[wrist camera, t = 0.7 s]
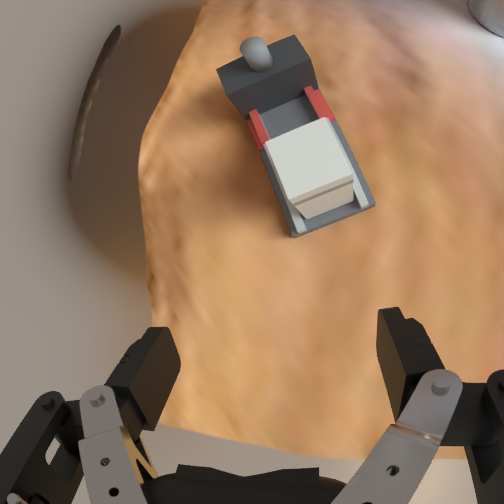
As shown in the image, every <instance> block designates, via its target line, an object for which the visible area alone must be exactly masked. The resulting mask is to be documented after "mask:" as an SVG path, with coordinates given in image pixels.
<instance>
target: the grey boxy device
mask: <svg viewBox="0 0 504 504" xmlns="http://www.w3.org/2000/svg"><path fill="white" fill-rule="evenodd" d="M240 51H241V53H242V54H243V57H240V58H238V59H236V60H234V61H232V62H230V63H228V64H226V65H224V66H222V67H220V68H218V69H216V70H217V73H218V75H219V78H220V80H221V82H222V85H223V87H224V90H225V92H226V95H227V96H228V98H229V99H230V100H231V101H232V103H233V104H234V105H235V106H236V108H237V109H238V110H239V111H240V113H241V114H242V115H243V116H244V118H245V119H246V121H247V123H248V125H249V128H250V130H251V133H252V135H253V138H254V140H255V143H256V145H257V147H258V150H259V152H260V154H261V157H262V159H263V162H264V164H265V167H266V169H267V172H268V174H269V177H270V179H271V182H272V185H273V187H274V190H275V192H276V195H277V197H278V200H279V203H280V205H281V208H282V210H283V213H284V216H285V218H286V221H287V224H288V226H289V229H290V232H291V234H292V237H294V238H297V237H299V236H302V235H304V234H307V233H309V232H312V231H314V230H317V229H319V228H322V227H325V226H327V225H330V224H332V223H335V222H337V221H340V220H342V219H345V218H347V217H350V216H352V215H355V214H357V213H360V212H362V211H365V210H367V209H370V208H372V207H375V204H376V203H375V201H374V199H373V196H372V194H371V192H370V189H369V187H368V185H367V183H366V180H365V178H364V176H363V174H362V172H361V170H360V167H359V165H358V163H357V161H356V159H355V157H354V155H353V153H352V151H351V149H350V147H349V145H348V143H347V141H346V139H345V137H344V135H343V133H342V131H341V129H340V127H339V125H338V123H337V121H336V119H335V117H334V115H333V113H332V111H331V110H330V108H329V106H328V104H327V102H326V100H325V99H324V97H323V95H322V93H321V92H320V90H319V87H318V84H317V80H316V76H315V72H314V69H313V65H312V62H311V59H310V57H309V56H308V54H307V52H306V51H305V49H304V48H303V46H302V45H301V43H300V42H299V40H298V39H297V37H296V36H295V35H292V36H289V37H287V38H284V39H282V40H279V41H277V42H274V43H272V44H270V45H267V46H266V44H265V42H264V40H263V39H262V38H260V37H251V38H248V39H246V40H245V41H243V42H242V44H241V45H240ZM323 117H325V118H326V120H327V122H328V124H329V126H330V128H331V130H332V132H333V134H334V136H335V138H336V140H337V142H338V144H339V146H340V148H341V150H342V152H343V154H344V156H345V158H346V161H347V163H348V165H349V167H350V169H351V171H352V173H353V179H354V183H353V201H352V202H349V203H347V204H344V205H342V206H339V207H337V208H334V209H332V210H329V211H327V212H324V213H322V214H319V215H317V216H314V217H312V218H309V219H306V218H305V217H304V216H303V215H302V214H301V213H300V212H299V210H298V209H297V208H296V207H295V206H293V205H292V204H291V202H290V201H289V200H288V197H287V195H286V192H285V190H284V187H283V185H282V182H281V180H280V177H279V175H278V172H277V170H276V167H275V165H274V162H273V160H272V157H271V155H270V153H269V150H268V148H267V145H266V143H265V142H266V141H269V140H271V139H273V138H275V137H278V136H280V135H282V134H285V133H287V132H289V131H292V130H294V129H296V128H299V127H301V126H303V125H306V124H308V123H311V122H313V121H316V120H318V119H321V118H323Z"/></svg>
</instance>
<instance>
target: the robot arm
mask: <svg viewBox="0 0 504 504" xmlns="http://www.w3.org/2000/svg"><path fill="white" fill-rule="evenodd" d="M468 7H469V10H470V12H471V14H472V15H473V16H474V18H475V19H476V20H477V21H478V22H479V23H480V24H482V25H483V26H484V27H485V28H487V29H488V30H490V31H491V32H493V33H495V34H497V35H499V36H501V37H504V0H469V2H468ZM376 349H377V357H378V361H379V364H380V368H381V371H382V375H383V378H384V382H385V385H386V389H387V393H388V396H389V400H390V404H391V408H392V411H393V415H394V419H395V424H391V425H390V426H389V427H388V428H387V429H386V431H385V432H384V434H383V435H382V437H381V438H380V440H379V441H378V443H377V444H376V446H375V447H374V448H373V450H372V451H371V453H370V454H369V456H368V457H367V458H366V460H365V461H364V462H363V464H362V465H361V467H360V468H359V469H358V471H357V472H356V473H355V475H354V476H353V477H352V478H351V480H350V481H349V482H348V483H347V484H346V483H344V482H341V481H338V480H336V479H331V478H327V477H321V476H319V467H317V468H302V469H282V470H278V471H273V472H268V473H263V474H258V475H253V476H247V477H243V476H238V475H234V474H231V473H227V472H223V471H220V470H217V469H214V468H210V467H199V466H190V465H181V464H179V465H178V467H177V470H176V473H173V474H167V475H163V476H160V477H159V476H158V474H157V472H156V470H155V468H154V465H153V463H152V461H151V458H150V456H149V454H148V451H147V449H146V447H145V444H144V441H143V439H142V437H141V436H140V433H141V431H142V430H149V431H154V430H155V427H156V425H157V423H158V420H159V418H160V416H161V413H162V411H163V409H164V406H165V404H166V402H167V399H168V397H169V395H170V392H171V390H172V388H173V385H174V383H175V381H176V379H177V376H178V374H179V372H180V367H181V362H180V357H179V354H178V351H177V348H176V346H175V343H174V340H173V337H172V334H171V332H170V330H169V328H168V327H149V328H148V329H147V330H146V332H145V334H144V335H143V336H142V338H141V339H138V340H137V341H136V342H135V343H133V344H132V345H131V346H130V347H129V348H128V350H127V351H126V353H125V354H124V357H122V359H121V360H120V363H119V364H118V365H117V366H116V368H115V369H114V371H113V372H112V374H111V375H110V377H109V378H108V380H107V382H106V383H105V384H104V385H101V386H96V387H93V388H91V389H89V390H87V391H86V392H85V393H84V394H83V395H82V397H81V399H80V400H74V401H65V399H64V398H63V396H62V395H61V394H60V393H59V392H56V391H51V392H47V393H45V394H43V395H41V396H40V397H39V398H38V399H37V400H36V401H35V403H34V404H33V406H32V407H31V409H30V410H29V412H28V413H27V415H26V416H25V417H24V419H23V420H22V422H21V423H20V425H19V426H18V428H17V430H16V431H15V433H14V434H13V436H12V437H11V439H10V440H9V442H8V443H7V445H6V446H5V448H4V450H3V451H2V453H1V454H0V504H71V503H72V501H73V499H74V496H75V494H76V492H77V489H78V487H79V485H80V482H81V480H82V478H83V476H85V481H86V486H87V490H88V494H89V498H90V502H91V504H408V503H409V501H410V499H411V498H412V496H413V495H414V493H415V491H416V489H417V488H418V486H419V484H420V482H421V480H422V479H423V477H424V475H425V473H426V471H427V470H428V468H429V466H430V464H431V462H432V460H433V458H434V456H435V454H436V452H437V450H438V448H439V446H464V449H465V452H466V456H467V460H468V463H469V467H470V471H471V475H472V480H473V484H474V488H475V493H476V498H477V502H478V504H504V370H498V371H495V372H494V373H492V374H491V375H490V376H489V378H488V380H487V383H465V382H462V381H461V379H460V377H459V376H458V375H457V374H455V373H454V372H452V371H449V370H446V369H445V367H444V365H443V363H442V361H441V359H440V357H439V355H438V353H437V352H436V350H435V348H434V346H433V344H432V343H431V340H430V338H429V336H427V333H426V331H425V329H424V327H423V325H422V324H420V323H419V322H418V321H416V320H415V319H414V318H409V319H405V318H404V316H403V314H402V312H401V310H400V308H399V307H392V308H385V309H379V310H378V320H377V340H376ZM54 437H55V438H56V440H57V441H58V442H59V443H60V446H59V448H58V450H57V452H56V454H55V456H54V458H53V459H52V461H51V463H50V465H48V463H47V462H46V459H45V454H46V451H47V449H48V447H49V446H50V444H51V442H52V440H53V439H54Z"/></svg>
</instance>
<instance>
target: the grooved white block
mask: <svg viewBox="0 0 504 504" xmlns="http://www.w3.org/2000/svg"><path fill="white" fill-rule="evenodd" d="M265 143H266V145H267V148H268V150H269V153H270V155H271V157H272V160H273V162H274V165H275V167H276V170H277V172H278V175H279V177H280V180H281V182H282V185H283V187H284V190H285V192H286V195H287V197H288V200H289V201H290V202H291V204H292V205H293V206H295V207H296V208H297V209H298V210H299V212H300V213H301V214H302V215H303V216H304V217H305V218H306V219H309V218H312V217H314V216H317V215H319V214H322V213H324V212H327V211H329V210H332V209H334V208H337V207H339V206H342V205H344V204H347V203H349V202H352V201H353V183H354V179H353V173H352V171H351V169H350V167H349V165H348V163H347V161H346V158H345V156H344V154H343V152H342V150H341V148H340V146H339V144H338V142H337V140H336V138H335V136H334V134H333V132H332V130H331V128H330V126H329V124H328V122H327V120H326V118H325V117H323V118H321V119H318V120H316V121H313V122H311V123H308V124H306V125H303V126H301V127H299V128H296V129H294V130H292V131H289V132H287V133H285V134H282V135H280V136H278V137H275V138H273V139H271V140H269V141H266V142H265Z"/></svg>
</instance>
